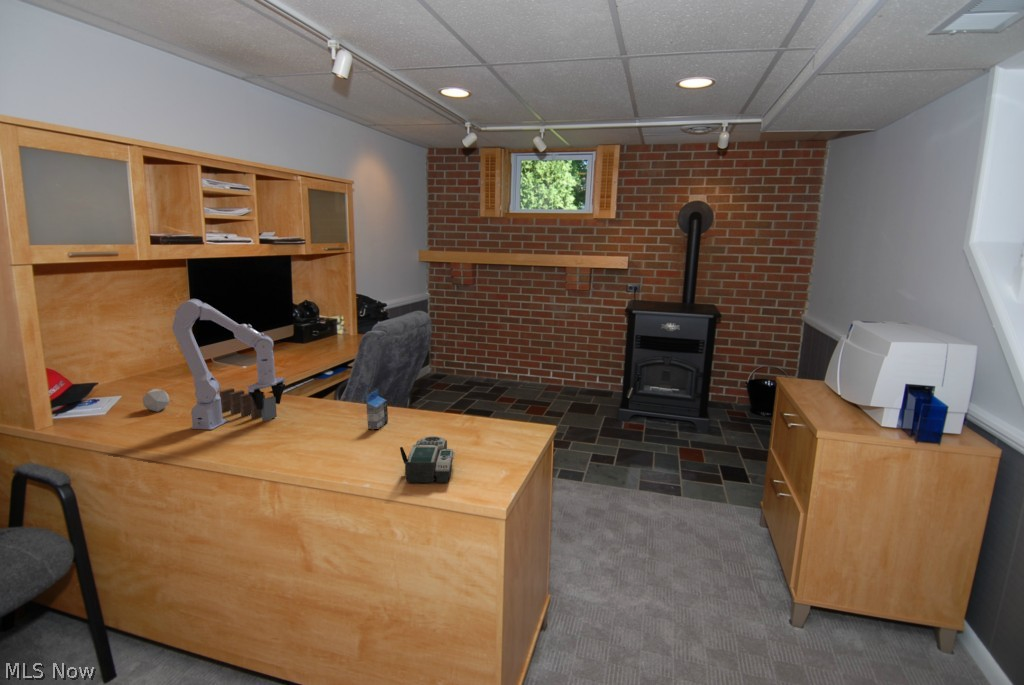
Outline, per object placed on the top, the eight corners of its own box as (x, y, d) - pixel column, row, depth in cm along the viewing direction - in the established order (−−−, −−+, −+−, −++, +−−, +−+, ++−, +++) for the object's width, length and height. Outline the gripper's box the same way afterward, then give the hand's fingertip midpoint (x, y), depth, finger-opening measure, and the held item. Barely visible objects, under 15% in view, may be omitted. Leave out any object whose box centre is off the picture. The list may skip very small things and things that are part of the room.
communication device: (458, 447, 172) (458, 416, 170) (451, 485, 144) (451, 449, 142) (414, 446, 172) (413, 415, 170) (398, 485, 144) (398, 448, 142)
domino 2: (245, 410, 202) (244, 390, 200) (234, 414, 197) (232, 394, 196) (242, 410, 202) (241, 390, 201) (231, 414, 198) (229, 393, 196)
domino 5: (276, 417, 195) (275, 396, 193) (265, 421, 190) (263, 400, 189) (273, 417, 195) (272, 396, 194) (262, 421, 191) (260, 399, 190)
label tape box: (377, 430, 184) (376, 396, 181) (366, 429, 184) (365, 395, 182) (388, 422, 192) (387, 389, 190) (378, 421, 193) (377, 389, 191)
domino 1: (235, 408, 204) (234, 388, 203) (224, 412, 200) (222, 391, 198) (233, 408, 205) (231, 388, 203) (221, 411, 200) (219, 391, 199)
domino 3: (255, 413, 199) (254, 392, 198) (244, 416, 195) (242, 396, 193) (252, 412, 200) (251, 392, 199) (241, 416, 196) (239, 395, 194)
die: (176, 410, 203) (172, 387, 206) (160, 405, 195) (156, 382, 198) (155, 417, 203) (152, 394, 206) (138, 413, 195) (135, 389, 198)
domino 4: (266, 415, 197) (264, 394, 196) (254, 419, 193) (253, 398, 191) (263, 414, 198) (261, 394, 196) (251, 418, 193) (249, 397, 192)
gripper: (256, 375, 181) (259, 413, 184) (290, 367, 194) (292, 402, 197) (242, 373, 184) (245, 410, 187) (276, 364, 197) (279, 399, 200)
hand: (268, 406), depth 192 cm, fingers open, 7 cm apart
